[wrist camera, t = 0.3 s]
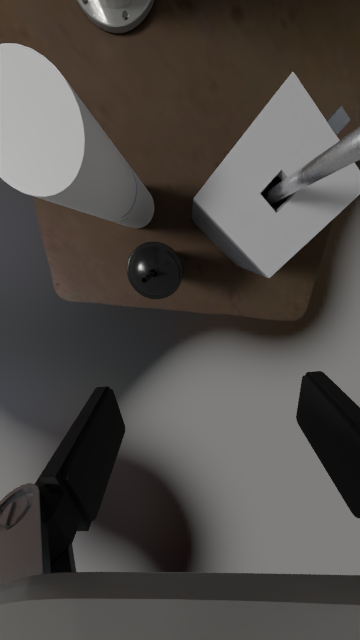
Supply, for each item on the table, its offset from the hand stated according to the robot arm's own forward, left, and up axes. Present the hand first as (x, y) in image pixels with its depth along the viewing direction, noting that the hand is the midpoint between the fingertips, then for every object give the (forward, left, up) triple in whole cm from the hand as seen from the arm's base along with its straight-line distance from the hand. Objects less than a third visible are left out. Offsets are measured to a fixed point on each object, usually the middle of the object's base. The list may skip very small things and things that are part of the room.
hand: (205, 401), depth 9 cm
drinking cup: (-5, -4, -33) cm, 33 cm away
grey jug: (-11, +12, -32) cm, 36 cm away
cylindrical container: (-16, -7, -33) cm, 37 cm away
